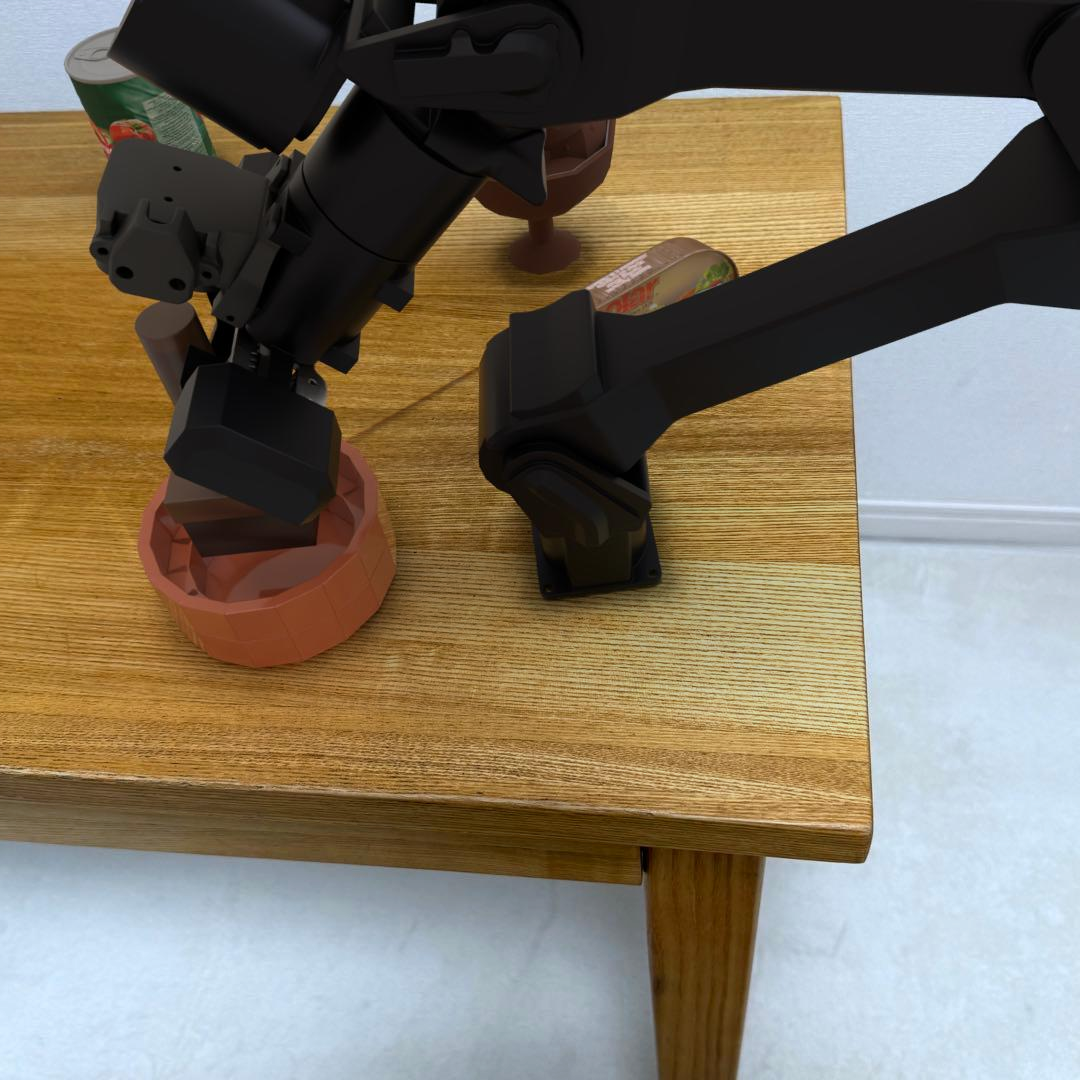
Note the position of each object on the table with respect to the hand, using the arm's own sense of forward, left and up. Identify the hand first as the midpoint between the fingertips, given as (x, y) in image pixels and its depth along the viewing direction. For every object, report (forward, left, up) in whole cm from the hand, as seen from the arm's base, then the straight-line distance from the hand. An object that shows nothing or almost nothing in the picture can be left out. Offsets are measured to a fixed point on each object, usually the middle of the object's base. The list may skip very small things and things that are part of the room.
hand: (191, 434), depth 51 cm
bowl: (0, -1, -11) cm, 12 cm away
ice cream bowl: (+25, -18, -12) cm, 33 cm away
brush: (0, -1, -7) cm, 7 cm away
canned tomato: (+41, +10, -12) cm, 44 cm away
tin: (+11, -22, -12) cm, 27 cm away
